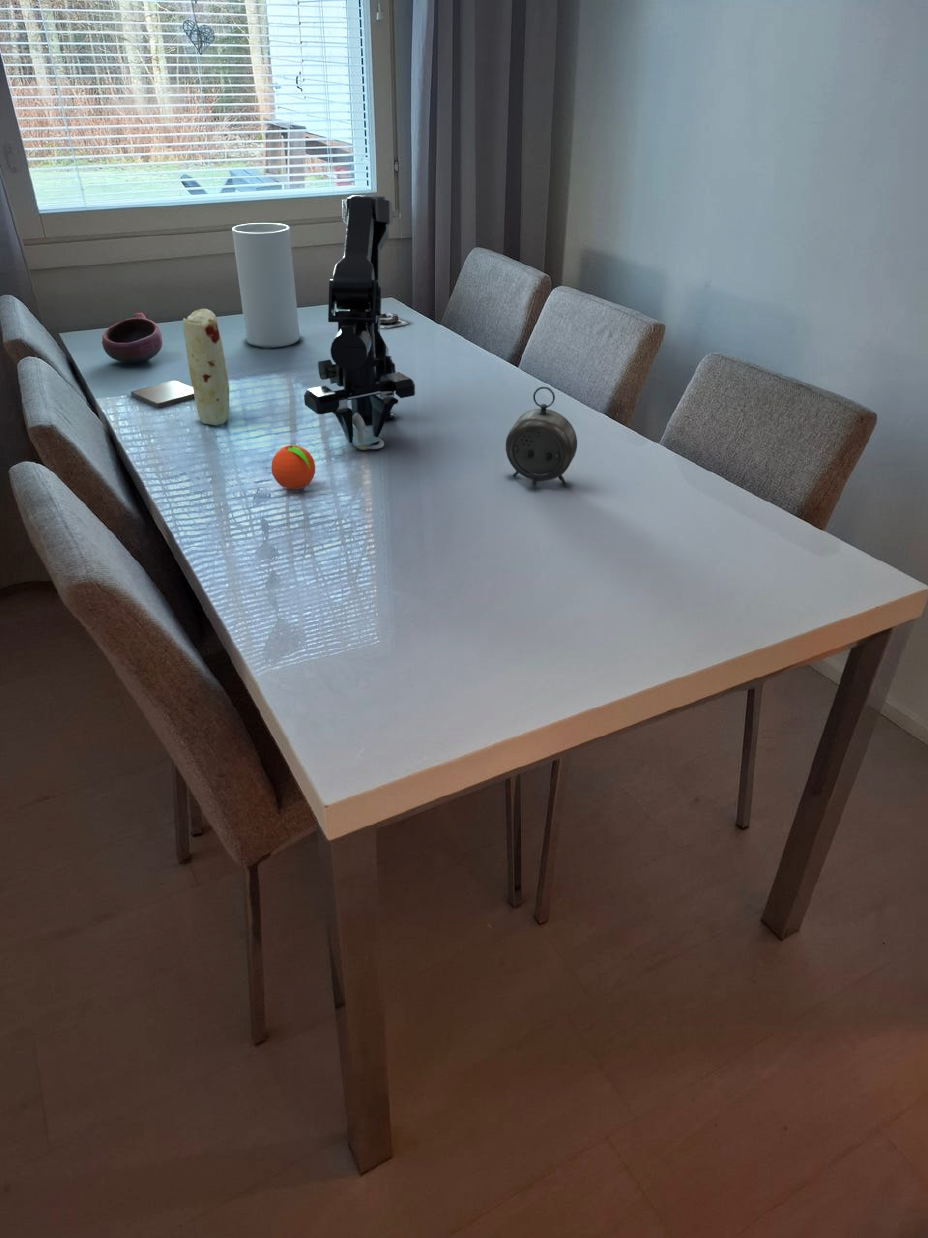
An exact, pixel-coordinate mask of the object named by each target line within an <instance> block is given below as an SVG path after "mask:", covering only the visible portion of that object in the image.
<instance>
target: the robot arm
mask: <svg viewBox="0 0 928 1238" xmlns="http://www.w3.org/2000/svg"><path fill="white" fill-rule="evenodd" d="M341 206H342V207H341V208H342V209H341V210H342V211H341V212H342V223H343V224H345V225H346V235H345V241H344V242H345V243H344V252H343V257H342V259H340V261H338V262H337V263H336V264H335V265H334V269H333V274H332V278H330V279H329V280H328V281H329V282H328V310H327V312H328V313H327V314H328V315H327V318H328V319H327V321H328V323H337V333H336V334H335V336H334V338H333V340H332V342H331V345H330V349H329V350H330V357H331V359H324V360H323V359H322V360H318V362H317V368H318V375H319V379H320V380H322V381H324V380H329V381H330V384H331V385H333V384H336V386H337V387H339V388H340V387H342V388H343V389H338V390H332V389H330V387H328V386H326V385H323V386H317V387H311V388H307V389H306V390H305V392H304V394H303V401H304V406H305V407H307V408H308V409H309V410H311V411H312V412H314V413H315V414H316V415H326V414H330V413H331V414H333V415H334V416H335V417H336V419H337V420H338V423H339V425H340V426H341V429H342V431H343V434H344V436H345V439H346V441H347V443H349V444H350V445H351V444H353V443H352V442H353V438H354V437H353V427H354V424H353V416H354V414H355V413H358V414H360V416H361V417H362V419H363V421H364V423H365V425H370V424H372V434H373V435H374V436H375V437H377V438H380V435H381V432H382V430H383V427H384V426H385V423H386V421H389V420H392V419H395V418H396V415H395V414H393V413H392V410H393V408H394V407H395V405H398V404H399V399H404V398H410V397H414V396H415V395H416V385H415V381H414V380H413V379H412V378H411V377H409V376H407V375H405V374H404V373H401V372H400V371H397V369H396V363H395V362H394V361H393V359H392V355H389V347H388V345H387V344H386V342H385V340H384V338H383V336H382V335H381V328H380V316H381V314H382V297H383V290H382V286H381V251H382V249H383V247H384V246H385V244H386V243H387V241H388V239H389V238H390V225H393V219H394V218H393V217H394V214H393V203H392V201H391V200H387V199H386V196H385V195H351V196H349V197H346V199H342V200H341ZM335 308H336V309H337V310H335ZM333 362H334V363H333ZM395 395H396V396H397V397H398V398H399V399H398V398H396V397H395ZM348 401H350V404H351V408H350V407H348V406H349V405H348Z"/></svg>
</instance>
